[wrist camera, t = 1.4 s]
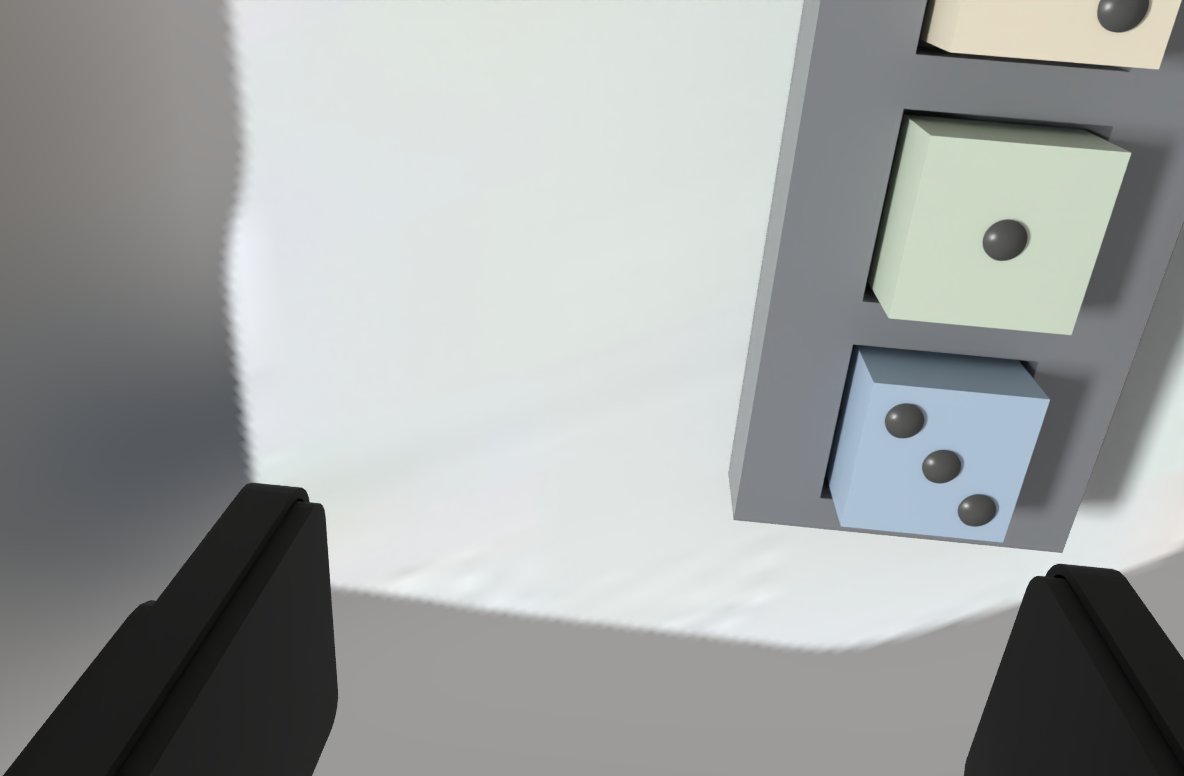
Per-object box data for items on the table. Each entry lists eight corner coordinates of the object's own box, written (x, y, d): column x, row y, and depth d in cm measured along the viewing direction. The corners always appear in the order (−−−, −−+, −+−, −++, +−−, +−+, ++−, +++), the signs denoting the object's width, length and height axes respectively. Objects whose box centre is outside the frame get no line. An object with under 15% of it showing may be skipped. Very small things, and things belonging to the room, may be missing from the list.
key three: (855, 341, 29) (874, 384, 26) (1014, 356, 29) (1051, 401, 26) (826, 475, 31) (841, 528, 29) (974, 489, 31) (1004, 544, 29)
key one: (904, 114, 26) (932, 136, 23) (1083, 129, 26) (1133, 153, 23) (868, 281, 28) (889, 319, 26) (1033, 296, 28) (1073, 336, 25)
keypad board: (842, -243, 24) (864, -264, 21) (1272, -212, 24) (1349, -229, 21) (728, 473, 34) (733, 520, 31) (1030, 503, 34) (1062, 552, 31)
